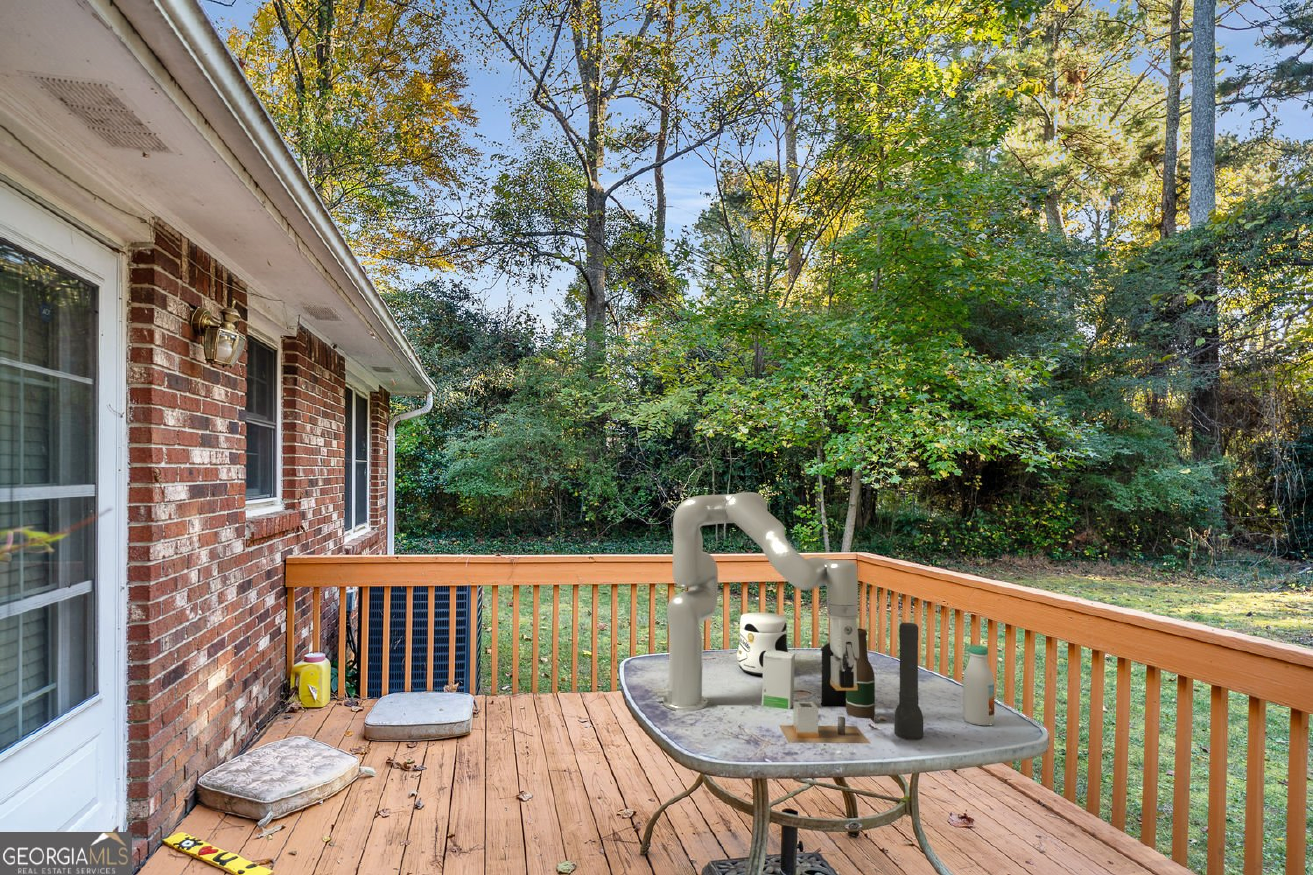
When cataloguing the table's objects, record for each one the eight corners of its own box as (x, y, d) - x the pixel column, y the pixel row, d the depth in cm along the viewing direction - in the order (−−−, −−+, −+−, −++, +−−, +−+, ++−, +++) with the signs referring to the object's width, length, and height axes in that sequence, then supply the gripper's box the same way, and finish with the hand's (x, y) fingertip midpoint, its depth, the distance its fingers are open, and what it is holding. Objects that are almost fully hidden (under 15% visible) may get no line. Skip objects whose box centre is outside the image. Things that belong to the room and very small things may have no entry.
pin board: (788, 748, 165) (788, 725, 165) (779, 731, 176) (779, 709, 176) (870, 749, 166) (870, 726, 166) (856, 731, 177) (856, 710, 177)
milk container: (726, 670, 229) (726, 616, 230) (758, 661, 241) (759, 609, 242) (767, 682, 217) (767, 625, 217) (799, 672, 228) (800, 618, 229)
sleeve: (857, 690, 169) (857, 661, 169) (836, 690, 169) (835, 661, 169) (851, 683, 174) (850, 655, 174) (830, 683, 174) (829, 655, 174)
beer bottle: (870, 726, 181) (871, 634, 182) (841, 720, 185) (841, 630, 186) (878, 717, 187) (878, 628, 189) (850, 711, 192) (850, 624, 193)
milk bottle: (981, 728, 181) (981, 651, 182) (956, 718, 187) (956, 644, 188) (1000, 724, 184) (1000, 648, 185) (975, 714, 191) (975, 642, 192)
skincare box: (761, 710, 191) (761, 654, 192) (765, 703, 197) (766, 648, 198) (791, 714, 188) (791, 657, 189) (794, 707, 194) (795, 651, 195)
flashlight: (927, 734, 176) (900, 727, 180) (927, 624, 177) (900, 619, 182) (918, 742, 170) (890, 735, 175) (918, 628, 172) (890, 624, 176)
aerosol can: (851, 712, 191) (851, 639, 192) (820, 709, 193) (821, 637, 194) (849, 702, 199) (849, 632, 200) (819, 700, 201) (820, 631, 202)
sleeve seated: (797, 737, 168) (797, 708, 169) (792, 729, 173) (792, 701, 174) (818, 737, 168) (819, 708, 169) (813, 729, 174) (813, 701, 174)
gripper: (868, 617, 164) (869, 694, 163) (847, 603, 181) (848, 673, 180) (837, 617, 164) (838, 694, 163) (818, 604, 181) (819, 674, 180)
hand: (843, 682), depth 171 cm, fingers closed on sleeve, 5 cm apart
